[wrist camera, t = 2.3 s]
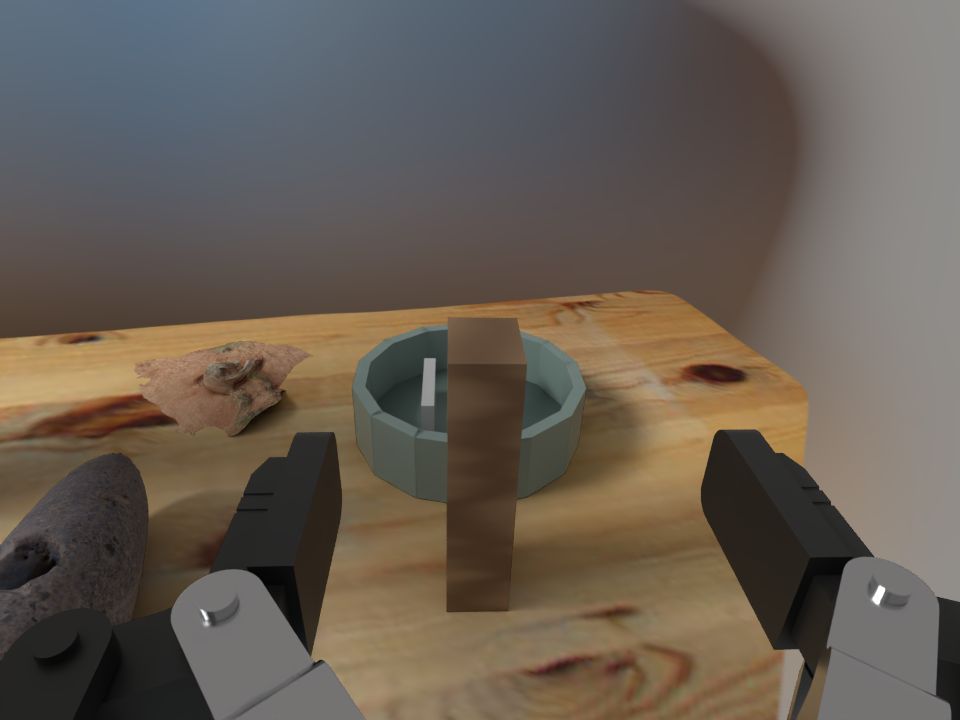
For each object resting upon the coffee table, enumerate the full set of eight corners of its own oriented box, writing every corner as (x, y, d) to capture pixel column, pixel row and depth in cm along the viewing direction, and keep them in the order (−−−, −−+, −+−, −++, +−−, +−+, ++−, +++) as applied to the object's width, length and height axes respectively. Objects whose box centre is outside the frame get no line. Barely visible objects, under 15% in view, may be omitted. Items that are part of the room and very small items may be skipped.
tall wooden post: (446, 611, 30) (448, 363, 23) (446, 549, 34) (447, 317, 27) (507, 610, 30) (527, 364, 23) (501, 548, 34) (517, 318, 27)
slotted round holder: (343, 507, 36) (337, 446, 34) (371, 372, 49) (368, 322, 47) (597, 505, 37) (607, 445, 35) (557, 372, 50) (562, 323, 48)
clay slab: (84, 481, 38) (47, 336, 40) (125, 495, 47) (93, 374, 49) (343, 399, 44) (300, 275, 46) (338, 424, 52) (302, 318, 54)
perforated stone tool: (93, 514, 35) (55, 414, 32) (191, 504, 36) (165, 406, 33) (-52, 806, 22) (-142, 690, 19) (105, 779, 23) (47, 665, 20)
